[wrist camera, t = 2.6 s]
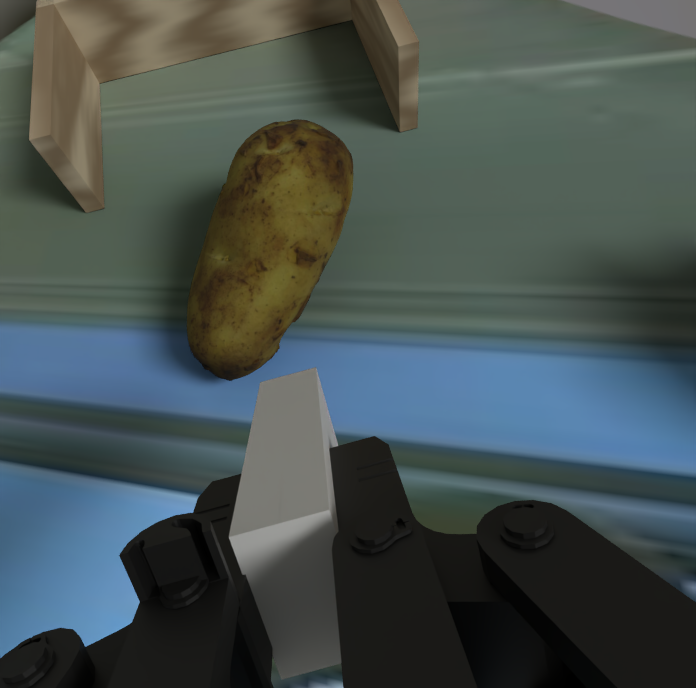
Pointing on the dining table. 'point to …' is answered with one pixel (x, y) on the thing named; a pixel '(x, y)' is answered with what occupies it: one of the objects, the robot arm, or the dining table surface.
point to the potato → (267, 244)
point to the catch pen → (181, 61)
